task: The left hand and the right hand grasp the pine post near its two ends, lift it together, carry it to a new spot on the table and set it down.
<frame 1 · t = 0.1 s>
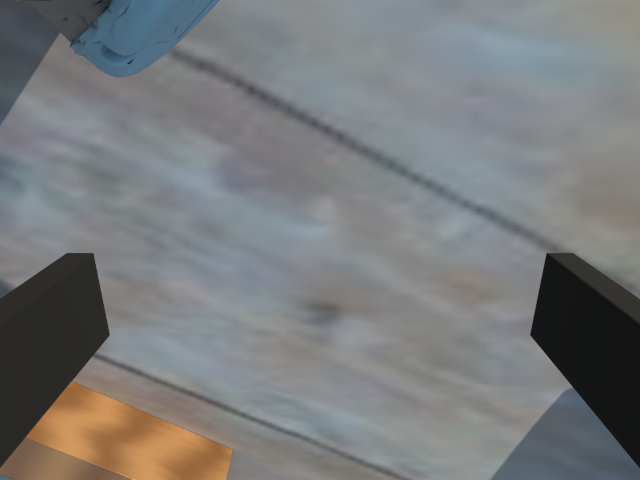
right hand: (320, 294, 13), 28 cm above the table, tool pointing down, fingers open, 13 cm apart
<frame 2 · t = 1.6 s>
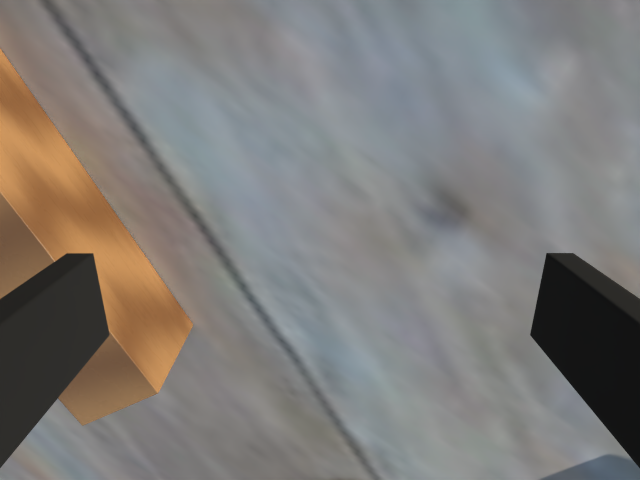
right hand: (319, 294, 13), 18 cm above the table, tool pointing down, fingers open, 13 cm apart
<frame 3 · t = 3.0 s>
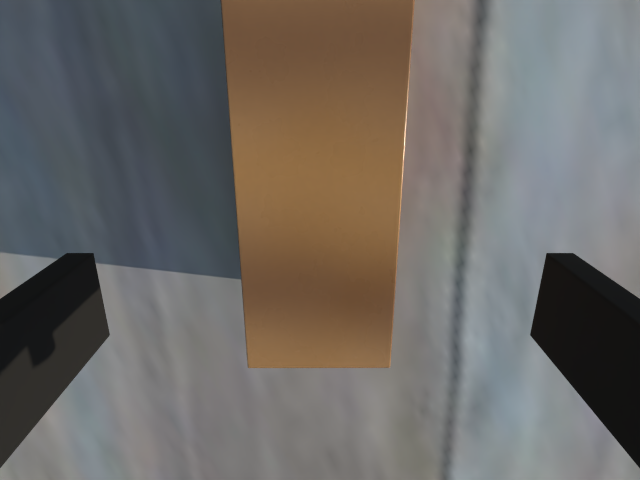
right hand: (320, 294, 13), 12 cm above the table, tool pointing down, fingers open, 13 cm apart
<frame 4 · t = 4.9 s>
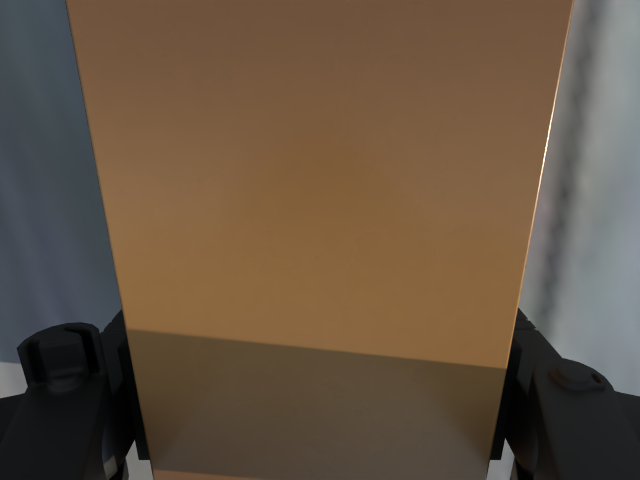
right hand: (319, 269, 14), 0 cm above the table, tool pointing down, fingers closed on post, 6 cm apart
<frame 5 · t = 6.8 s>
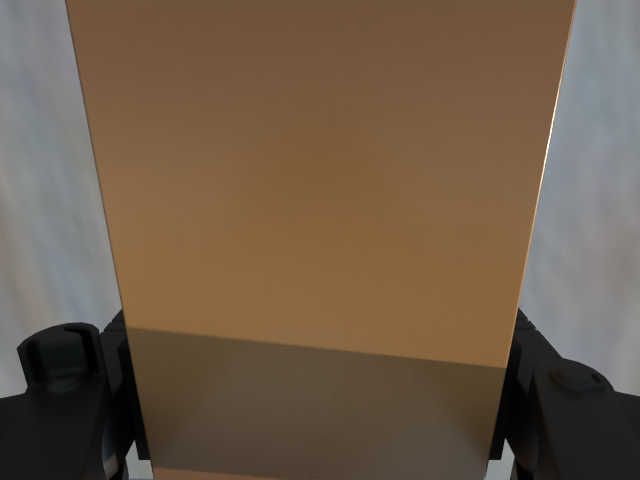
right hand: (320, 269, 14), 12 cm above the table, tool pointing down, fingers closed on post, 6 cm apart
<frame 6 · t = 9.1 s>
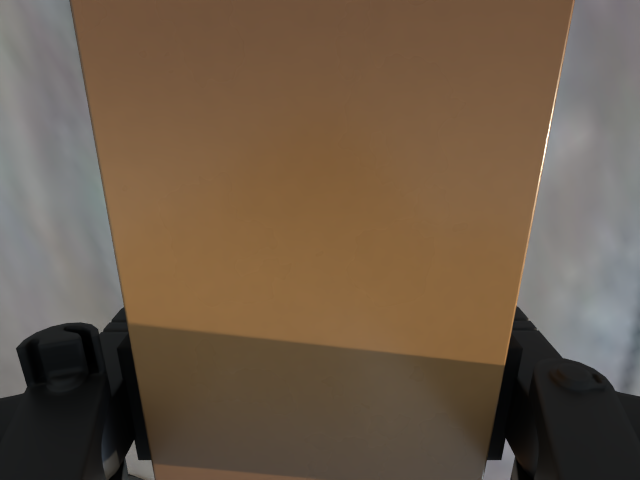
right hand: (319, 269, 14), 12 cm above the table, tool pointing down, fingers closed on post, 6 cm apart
when the left hand's fingers open (2 cm above the table, at t = 10.9 s): post drops 2 cm, on the table.
when the right hand's fingers open (2 cm above the table, at t = 10.9 s): post drops 2 cm, on the table.
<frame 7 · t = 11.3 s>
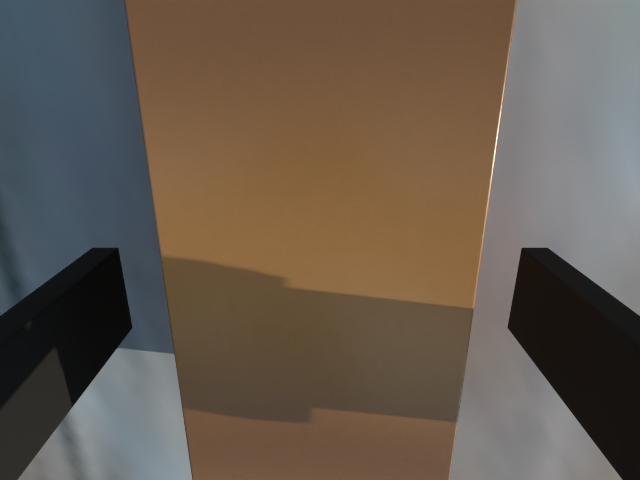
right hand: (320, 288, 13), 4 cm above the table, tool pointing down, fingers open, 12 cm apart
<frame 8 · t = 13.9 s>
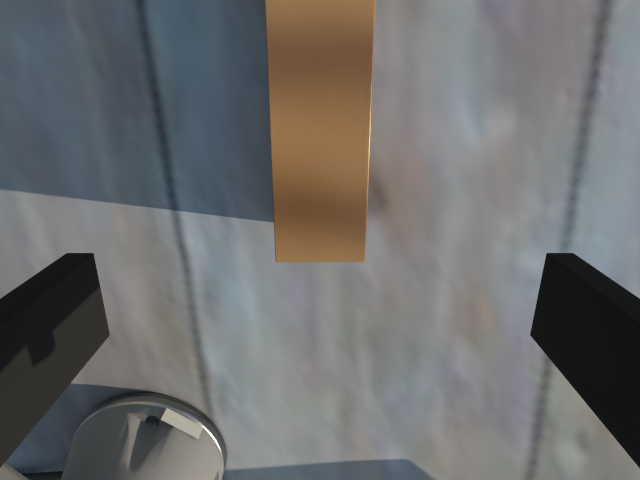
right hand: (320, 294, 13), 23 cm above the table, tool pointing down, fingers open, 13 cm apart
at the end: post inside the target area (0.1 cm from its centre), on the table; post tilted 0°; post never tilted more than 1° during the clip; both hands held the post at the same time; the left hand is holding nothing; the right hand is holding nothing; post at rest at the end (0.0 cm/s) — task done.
